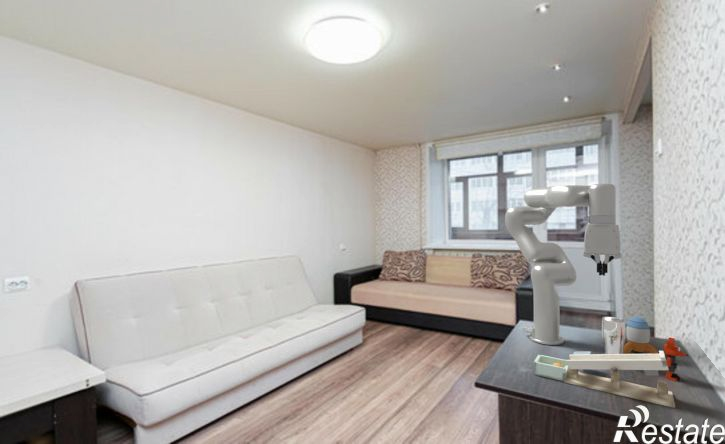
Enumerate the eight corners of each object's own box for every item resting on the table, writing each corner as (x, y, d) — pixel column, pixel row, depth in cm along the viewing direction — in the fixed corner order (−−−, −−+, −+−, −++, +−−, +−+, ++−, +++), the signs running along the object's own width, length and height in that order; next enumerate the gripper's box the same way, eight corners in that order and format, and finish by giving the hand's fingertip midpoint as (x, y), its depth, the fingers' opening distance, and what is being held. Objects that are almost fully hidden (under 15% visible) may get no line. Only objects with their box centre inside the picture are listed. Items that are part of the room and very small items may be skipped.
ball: (550, 364, 115) (561, 365, 113) (552, 361, 117) (563, 361, 115) (552, 374, 114) (563, 375, 113) (554, 371, 117) (565, 372, 115)
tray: (533, 374, 116) (533, 362, 116) (538, 366, 122) (538, 354, 122) (565, 381, 110) (565, 368, 110) (568, 372, 117) (568, 360, 117)
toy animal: (686, 386, 107) (686, 346, 107) (662, 380, 111) (662, 341, 111) (688, 377, 112) (689, 339, 112) (666, 372, 116) (666, 335, 116)
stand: (563, 382, 110) (563, 357, 110) (567, 371, 118) (567, 348, 118) (675, 408, 94) (675, 380, 94) (671, 393, 102) (671, 367, 102)
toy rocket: (626, 351, 137) (637, 314, 136) (660, 365, 128) (672, 325, 127) (615, 353, 132) (625, 314, 130) (649, 368, 123) (661, 326, 122)
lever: (570, 375, 110) (566, 357, 111) (576, 360, 122) (572, 344, 123) (670, 377, 96) (665, 357, 97) (666, 359, 108) (661, 342, 109)
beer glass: (630, 366, 121) (630, 322, 121) (607, 365, 122) (607, 321, 122) (619, 358, 128) (619, 316, 128) (598, 357, 129) (598, 316, 129)
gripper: (575, 220, 122) (575, 274, 122) (629, 220, 113) (629, 278, 113) (577, 220, 128) (577, 271, 128) (629, 220, 119) (629, 275, 120)
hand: (602, 274), depth 121 cm, fingers closed
